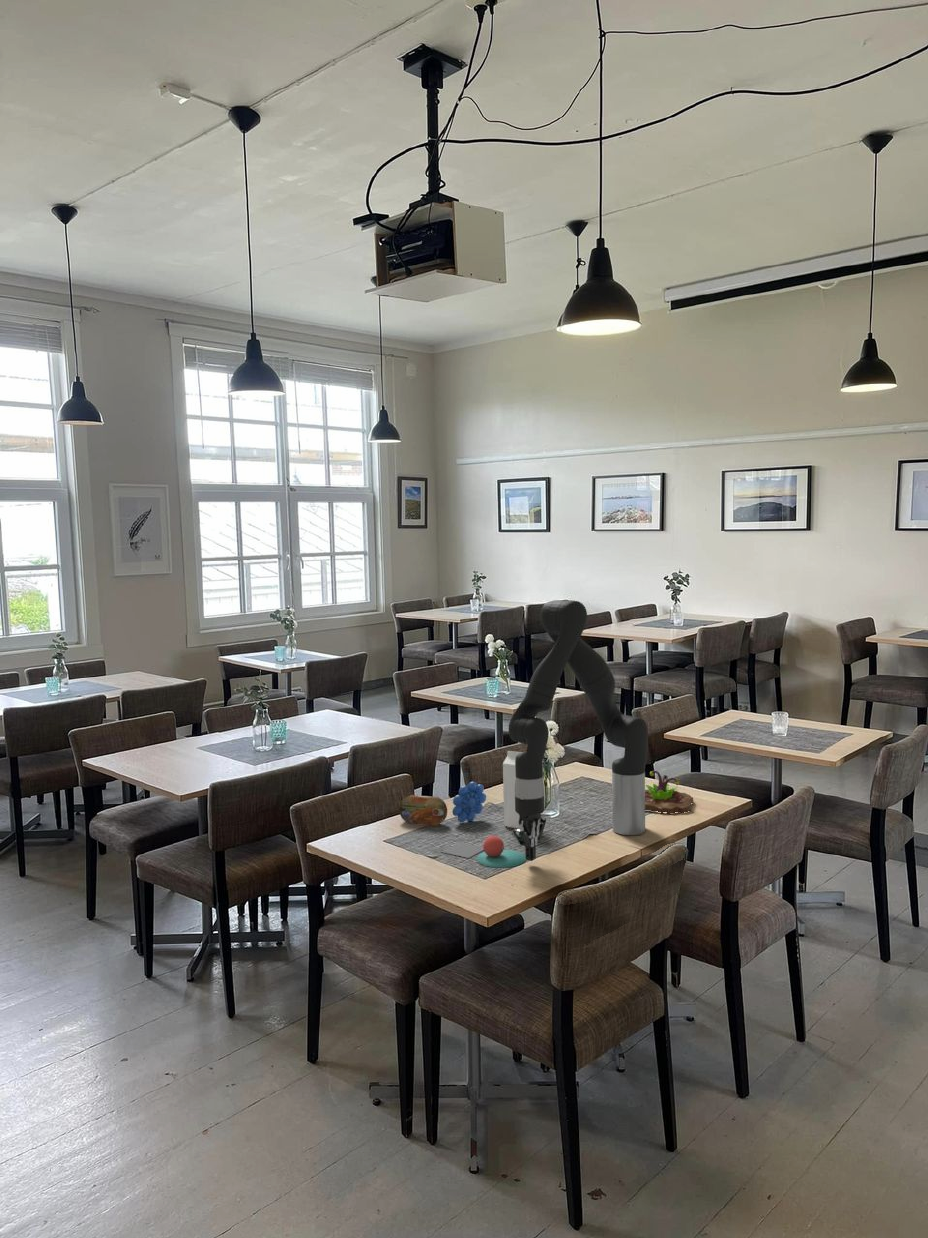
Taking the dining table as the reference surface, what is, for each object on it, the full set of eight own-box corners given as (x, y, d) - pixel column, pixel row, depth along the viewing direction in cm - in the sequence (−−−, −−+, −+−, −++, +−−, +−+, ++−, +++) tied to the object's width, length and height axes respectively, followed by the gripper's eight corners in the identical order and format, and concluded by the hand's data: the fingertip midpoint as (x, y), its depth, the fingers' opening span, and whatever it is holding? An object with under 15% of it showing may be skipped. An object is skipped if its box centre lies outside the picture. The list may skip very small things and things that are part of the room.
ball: (493, 831, 234) (508, 837, 230) (492, 850, 235) (507, 857, 231) (479, 835, 230) (494, 842, 226) (478, 855, 231) (493, 862, 227)
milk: (521, 829, 253) (520, 755, 251) (503, 826, 256) (502, 753, 254) (531, 823, 258) (530, 750, 256) (513, 820, 261) (512, 748, 259)
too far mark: (460, 842, 242) (460, 842, 242) (487, 848, 237) (487, 847, 237) (441, 852, 235) (441, 851, 235) (468, 858, 230) (468, 857, 230)
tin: (398, 822, 262) (398, 795, 261) (403, 819, 265) (402, 792, 264) (444, 827, 256) (444, 799, 256) (449, 824, 259) (448, 796, 259)
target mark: (494, 847, 238) (494, 846, 238) (535, 855, 231) (535, 855, 231) (467, 861, 228) (467, 860, 228) (509, 871, 220) (509, 870, 220)
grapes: (479, 814, 268) (478, 776, 267) (490, 820, 262) (489, 781, 261) (446, 821, 262) (445, 782, 261) (457, 827, 256) (456, 787, 255)
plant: (634, 794, 287) (634, 761, 286) (695, 799, 280) (695, 765, 279) (623, 812, 268) (623, 776, 267) (688, 817, 261) (688, 781, 260)
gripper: (530, 785, 230) (531, 849, 231) (503, 798, 219) (504, 864, 221) (555, 789, 226) (556, 854, 227) (528, 802, 215) (530, 870, 216)
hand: (530, 859), depth 224 cm, fingers closed
